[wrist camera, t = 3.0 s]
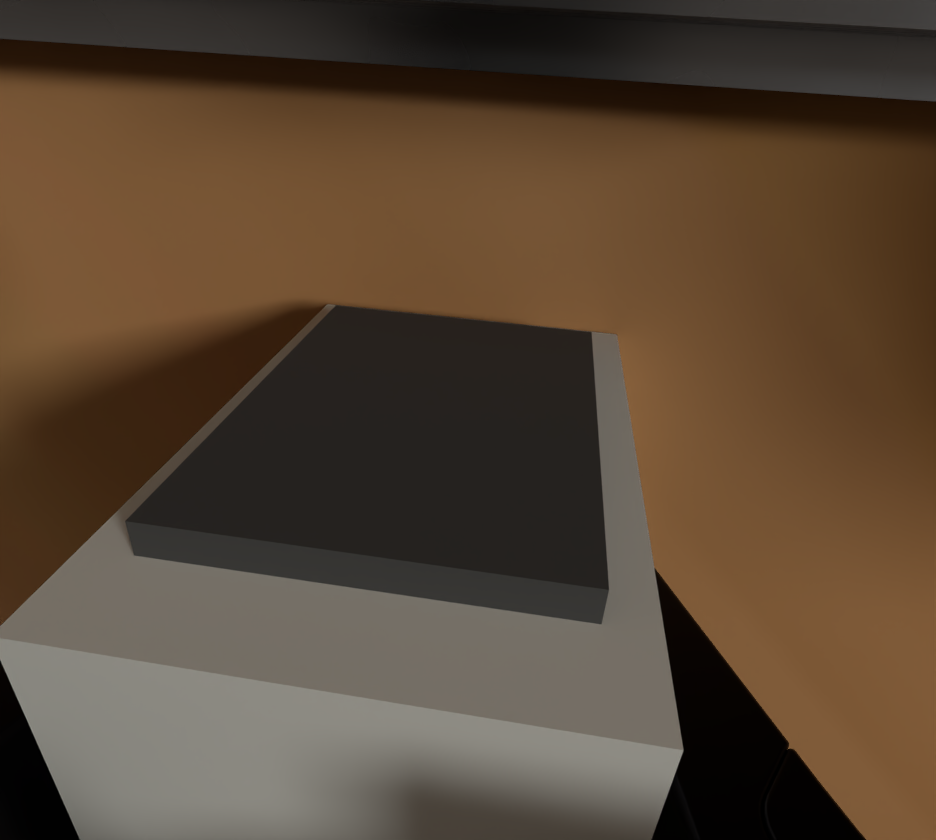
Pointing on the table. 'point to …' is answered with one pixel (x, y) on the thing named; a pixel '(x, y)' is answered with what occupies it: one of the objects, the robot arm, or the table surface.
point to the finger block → (370, 605)
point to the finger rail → (538, 37)
